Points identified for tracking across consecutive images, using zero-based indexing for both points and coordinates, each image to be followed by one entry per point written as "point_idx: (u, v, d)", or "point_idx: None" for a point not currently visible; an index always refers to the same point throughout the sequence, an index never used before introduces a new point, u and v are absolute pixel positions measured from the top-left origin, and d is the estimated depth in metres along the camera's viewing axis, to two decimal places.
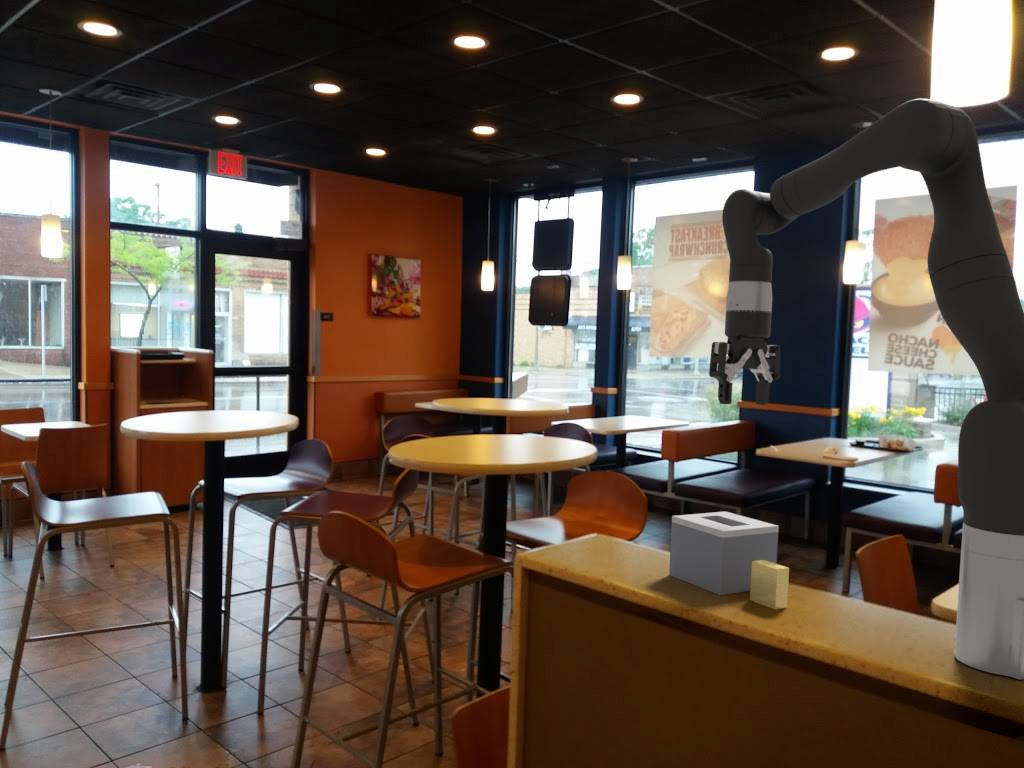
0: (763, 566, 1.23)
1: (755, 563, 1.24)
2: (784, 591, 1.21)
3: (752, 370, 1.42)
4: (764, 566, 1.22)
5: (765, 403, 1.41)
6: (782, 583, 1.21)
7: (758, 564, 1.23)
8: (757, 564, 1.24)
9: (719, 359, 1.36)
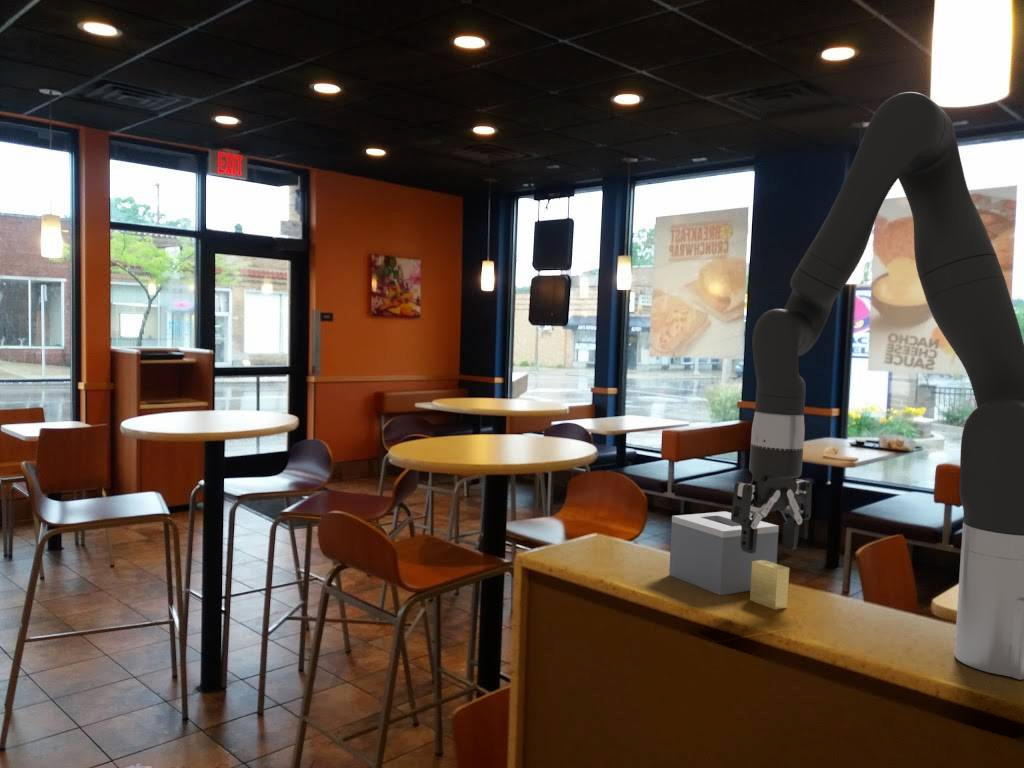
0: (763, 566, 1.23)
1: (755, 563, 1.24)
2: (784, 591, 1.21)
3: None
4: (764, 566, 1.22)
5: (793, 548, 1.24)
6: (782, 583, 1.21)
7: (758, 564, 1.23)
8: (757, 564, 1.24)
9: (743, 504, 1.19)
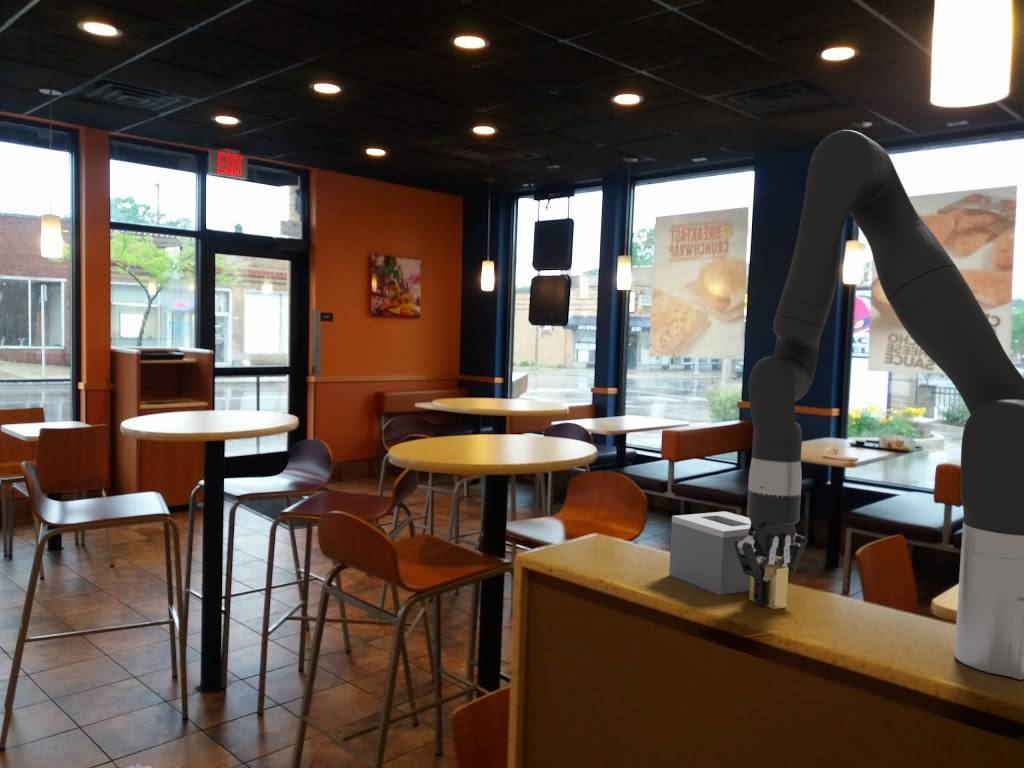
0: (762, 566, 1.23)
1: None
2: (783, 591, 1.21)
3: None
4: None
5: None
6: (781, 583, 1.21)
7: None
8: None
9: (750, 563, 1.20)
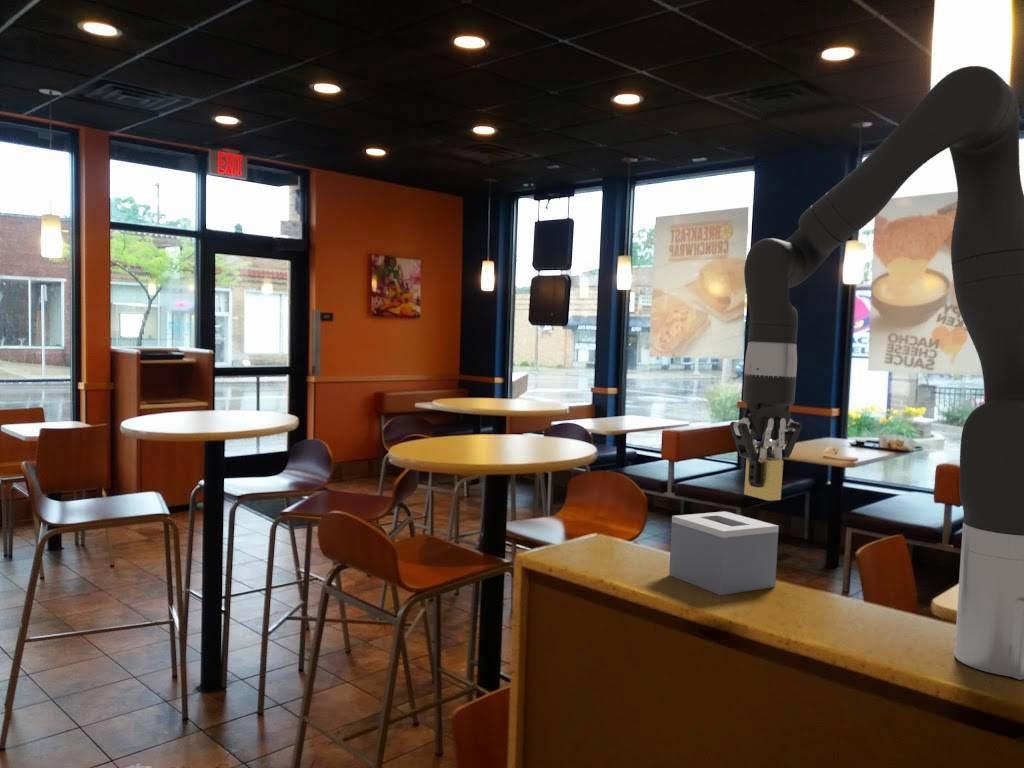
0: None
1: None
2: (778, 483, 1.23)
3: None
4: None
5: None
6: (776, 475, 1.22)
7: None
8: None
9: (745, 443, 1.21)
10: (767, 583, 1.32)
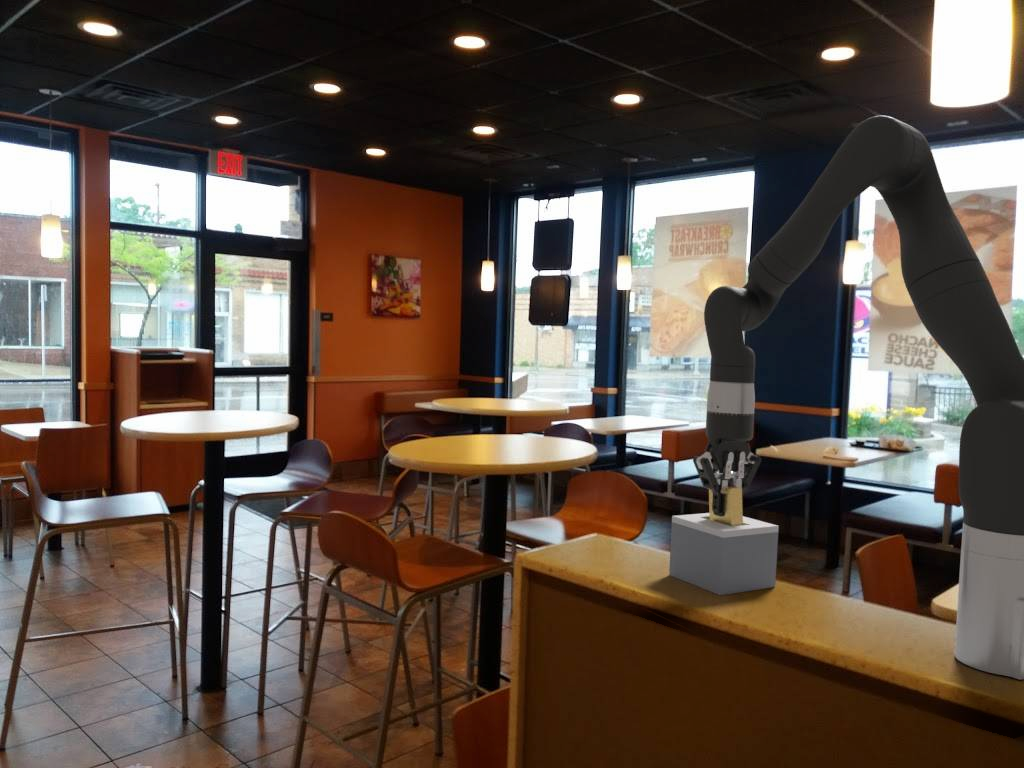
0: None
1: None
2: (739, 509, 1.32)
3: None
4: None
5: None
6: (736, 501, 1.32)
7: None
8: None
9: (707, 476, 1.31)
10: (767, 583, 1.32)
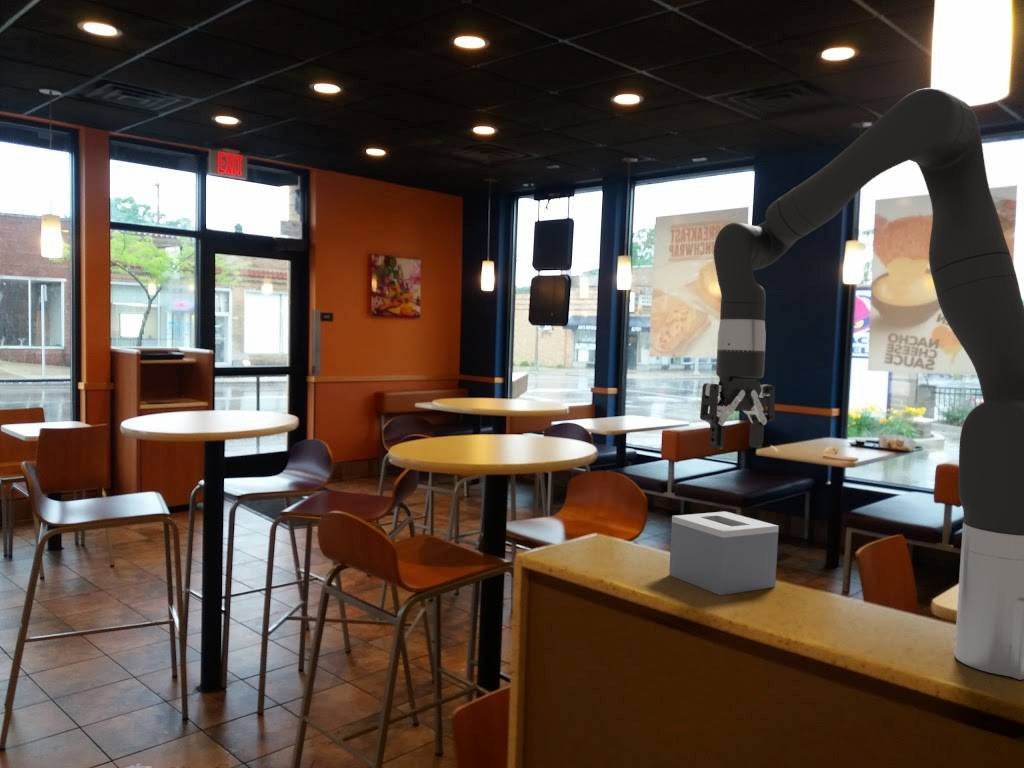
0: None
1: None
2: None
3: (745, 411, 1.35)
4: None
5: (759, 446, 1.34)
6: None
7: None
8: None
9: (711, 402, 1.29)
10: (767, 583, 1.32)
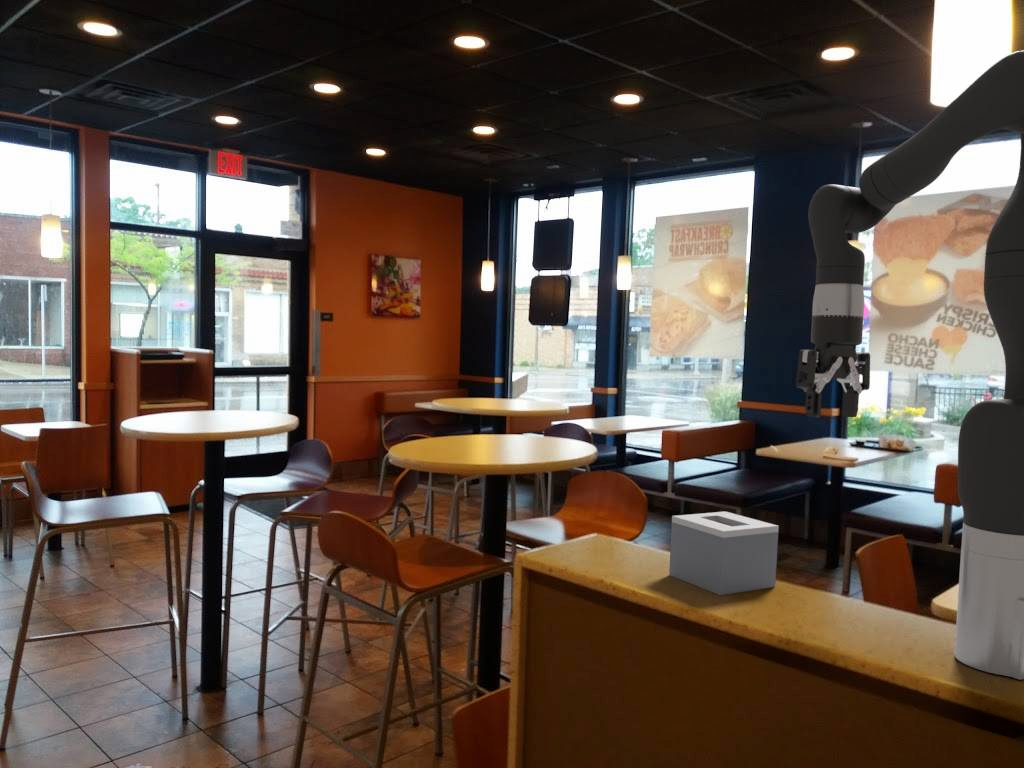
0: None
1: None
2: None
3: (839, 380, 1.32)
4: None
5: (854, 416, 1.31)
6: None
7: None
8: None
9: (809, 369, 1.25)
10: (767, 583, 1.32)
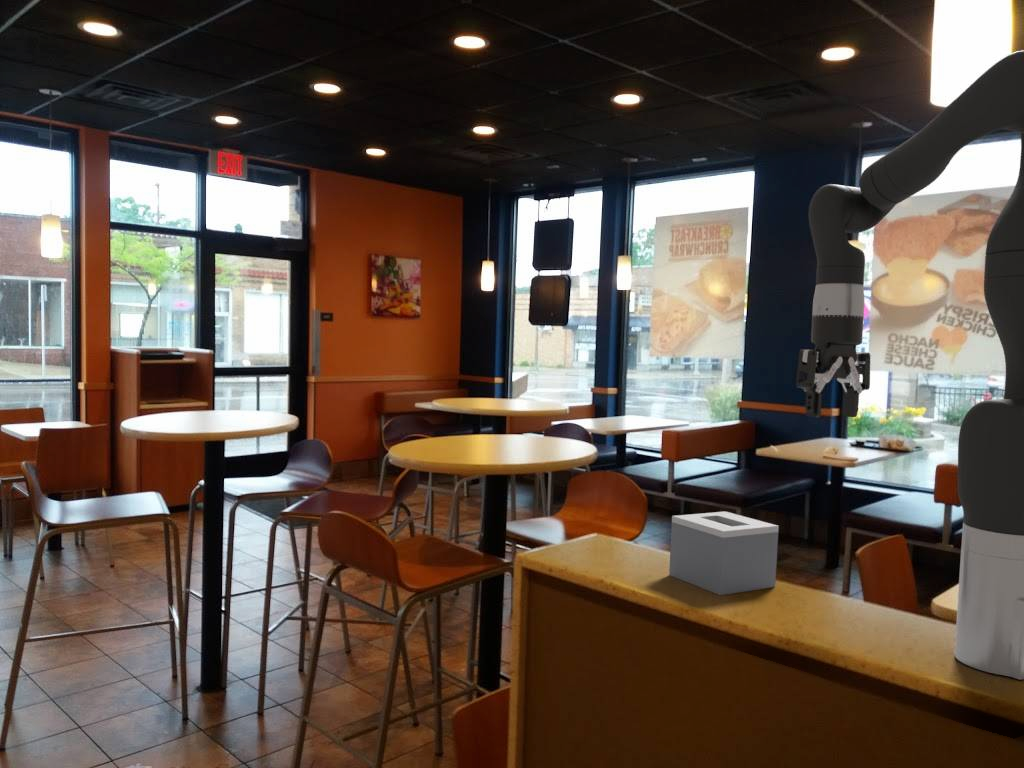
0: None
1: None
2: None
3: (839, 380, 1.32)
4: None
5: (854, 415, 1.31)
6: None
7: None
8: None
9: (809, 369, 1.25)
10: (767, 583, 1.32)
